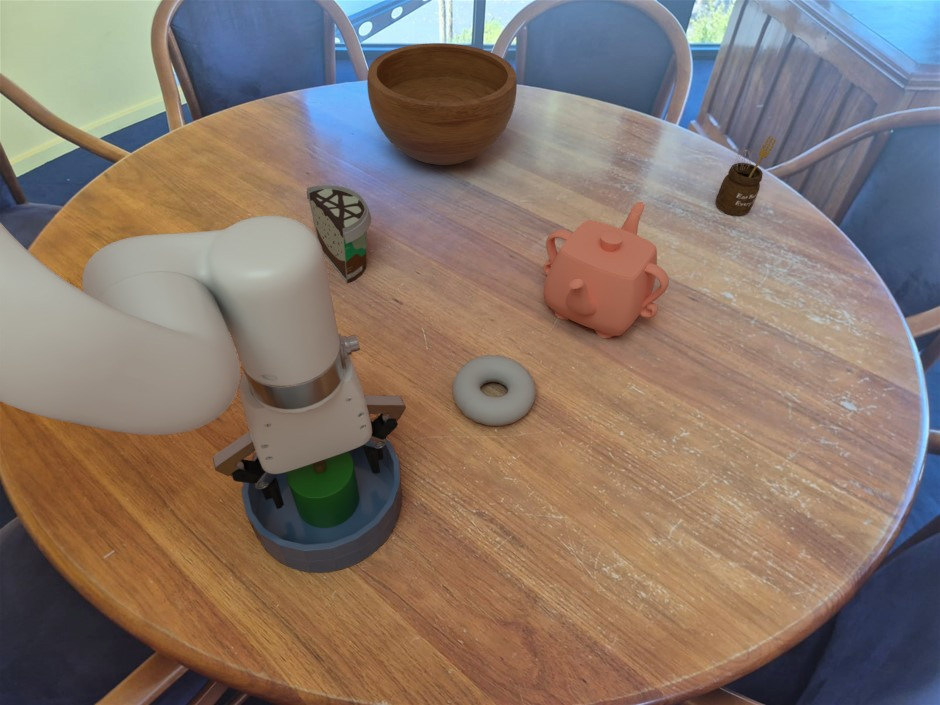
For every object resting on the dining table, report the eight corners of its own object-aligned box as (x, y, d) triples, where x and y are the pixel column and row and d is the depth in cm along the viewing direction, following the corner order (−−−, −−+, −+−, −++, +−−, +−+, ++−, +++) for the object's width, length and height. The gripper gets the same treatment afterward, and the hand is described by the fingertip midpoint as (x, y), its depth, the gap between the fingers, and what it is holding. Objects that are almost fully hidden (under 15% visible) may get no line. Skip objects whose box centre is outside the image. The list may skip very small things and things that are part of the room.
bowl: (409, 207, 102) (406, 119, 91) (352, 138, 116) (343, 56, 105) (536, 172, 111) (547, 89, 100) (468, 113, 125) (471, 34, 114)
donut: (545, 385, 77) (473, 356, 80) (550, 367, 75) (475, 338, 77) (514, 445, 71) (437, 411, 73) (517, 427, 68) (437, 393, 71)
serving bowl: (271, 598, 58) (259, 575, 54) (241, 468, 67) (229, 442, 63) (423, 538, 62) (422, 514, 59) (375, 425, 72) (372, 398, 68)
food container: (390, 274, 90) (386, 216, 83) (352, 289, 88) (344, 231, 80) (351, 231, 97) (344, 174, 90) (315, 243, 94) (305, 186, 87)
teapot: (556, 357, 80) (571, 282, 71) (527, 274, 91) (537, 201, 82) (665, 346, 82) (694, 272, 73) (624, 267, 93) (644, 194, 84)
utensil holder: (706, 202, 106) (730, 137, 97) (732, 193, 109) (758, 129, 100) (732, 220, 103) (759, 155, 94) (758, 211, 105) (787, 145, 96)
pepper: (305, 537, 62) (292, 501, 56) (290, 485, 65) (277, 446, 60) (367, 514, 63) (360, 477, 58) (349, 465, 67) (341, 426, 62)
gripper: (383, 306, 54) (395, 422, 67) (174, 363, 49) (230, 478, 61) (414, 366, 49) (420, 479, 62) (187, 436, 44) (244, 544, 57)
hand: (325, 478), depth 62 cm, fingers open, 9 cm apart
